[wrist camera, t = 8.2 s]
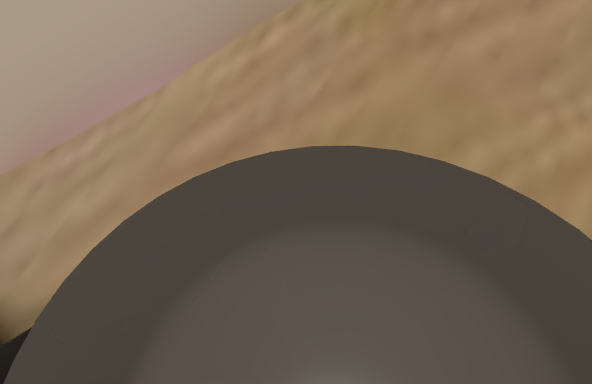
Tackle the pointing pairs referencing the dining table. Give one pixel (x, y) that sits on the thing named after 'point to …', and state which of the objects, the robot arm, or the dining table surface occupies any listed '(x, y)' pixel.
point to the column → (325, 282)
